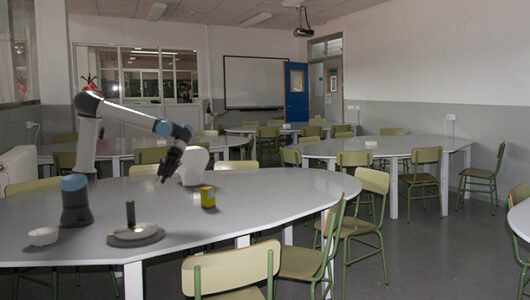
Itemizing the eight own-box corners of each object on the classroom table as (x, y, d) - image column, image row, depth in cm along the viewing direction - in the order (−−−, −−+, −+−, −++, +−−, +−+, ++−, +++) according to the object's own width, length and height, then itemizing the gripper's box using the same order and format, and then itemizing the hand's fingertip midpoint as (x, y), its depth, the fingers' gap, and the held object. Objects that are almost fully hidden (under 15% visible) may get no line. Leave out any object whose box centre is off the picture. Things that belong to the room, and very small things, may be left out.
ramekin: (23, 246, 162) (21, 233, 161) (46, 237, 172) (45, 225, 171) (42, 249, 158) (41, 236, 157) (65, 239, 168) (64, 228, 167)
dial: (164, 235, 167) (162, 205, 165) (120, 244, 157) (118, 213, 155) (150, 224, 181) (148, 197, 180) (109, 232, 171) (107, 203, 170)
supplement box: (208, 204, 219) (207, 185, 217) (216, 206, 215) (215, 187, 214) (200, 207, 214) (199, 187, 213) (207, 209, 210) (207, 189, 209)
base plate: (96, 247, 158) (95, 242, 158) (122, 227, 182) (122, 223, 182) (153, 247, 156) (152, 243, 156) (172, 228, 180) (172, 224, 180)
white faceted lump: (183, 187, 263) (181, 150, 259) (175, 180, 287) (173, 146, 284) (213, 184, 271) (211, 148, 268) (203, 177, 296) (201, 144, 292)
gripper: (163, 145, 201) (142, 183, 189) (183, 145, 196) (163, 185, 183) (170, 153, 207) (150, 191, 194) (190, 154, 201) (171, 193, 188)
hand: (156, 188), depth 189 cm, fingers closed
